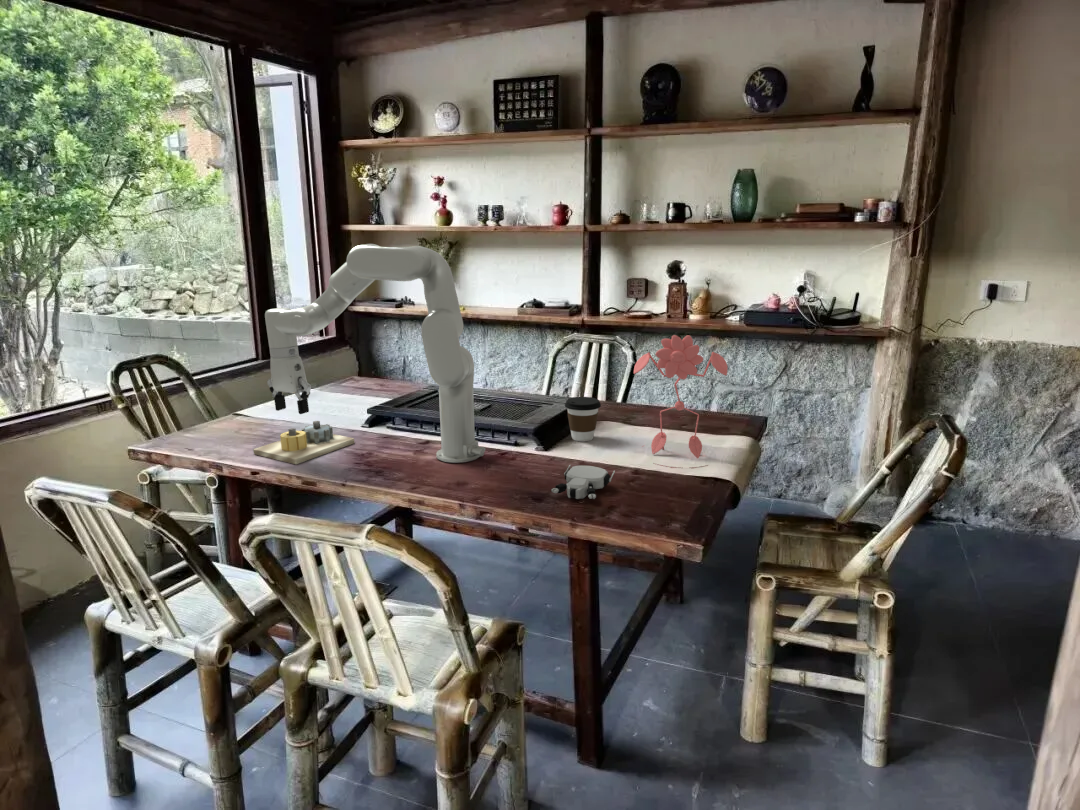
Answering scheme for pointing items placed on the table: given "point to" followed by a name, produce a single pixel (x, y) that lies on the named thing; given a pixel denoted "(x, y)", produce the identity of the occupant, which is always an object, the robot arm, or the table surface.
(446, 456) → the robot arm
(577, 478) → the robot toy
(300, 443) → the ochre gear
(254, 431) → the table surface
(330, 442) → the gear board
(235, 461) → the table surface
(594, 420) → the coffee cup
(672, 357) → the dancing flower figure
